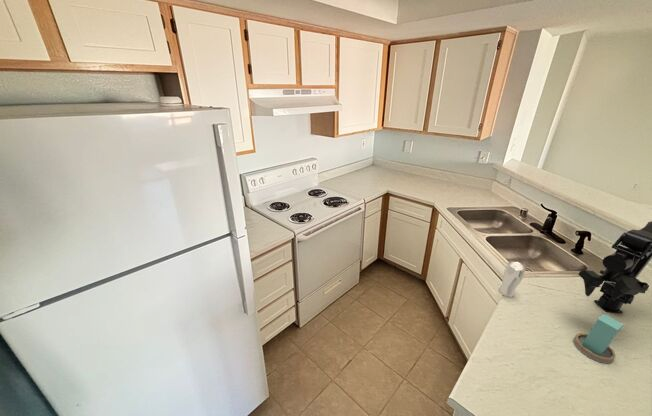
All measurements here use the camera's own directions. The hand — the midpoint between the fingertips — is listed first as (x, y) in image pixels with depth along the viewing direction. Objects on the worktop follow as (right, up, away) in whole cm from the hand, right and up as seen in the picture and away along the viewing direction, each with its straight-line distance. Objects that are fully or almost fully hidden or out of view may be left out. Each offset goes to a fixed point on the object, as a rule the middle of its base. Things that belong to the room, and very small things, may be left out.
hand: (599, 297), depth 101 cm
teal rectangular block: (-10, -15, -8) cm, 20 cm away
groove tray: (-10, -16, -7) cm, 21 cm away
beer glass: (-24, -4, +18) cm, 30 cm away
